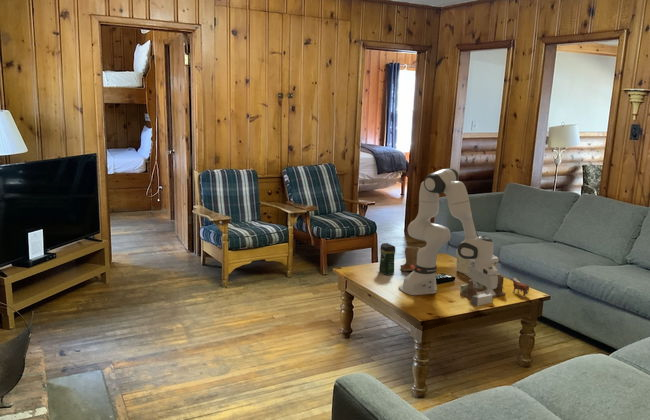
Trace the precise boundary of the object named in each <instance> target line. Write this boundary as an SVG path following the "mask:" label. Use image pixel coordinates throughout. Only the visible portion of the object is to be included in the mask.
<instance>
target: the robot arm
mask: <svg viewBox="0 0 650 420" xmlns="http://www.w3.org/2000/svg"><path fill="white" fill-rule="evenodd" d="M442 194H445V196H446V199H447V205H448V210H449V213H450V214H451V216H452V217H453V218H455V219H458V221H460V222H461V224H462V227H463V232H464V240H463V241H461V242H460V243H459V245H458V246H457V248H456V250H457V251H458V254H459V256H460V257H462V258H464V259H475V262H471V263H470V266H469V270H468V276H467V277H468V278H469V279H470V280H471V279H472V281H473V284H474V286H473V287H474V288H478V285H477V282H478V283H480V284H482V285H484V286H486V288H487V290H486V291H485V294H487V295H488V294H489V291H490V290H491V289H495V288H497V284H498V276H497V274H499V270H498V268H497V269H496V268H495V267H494V265H493V264H492V255H494V241H493V240H492V238H491V237H489V236H485V235H479V234H478V232H477V229H476V224H475V221H474V217H473V214H472V209H471V202H470V198H469V193H468V190H467V187H466V185H465V183H463V181H460V174H459V172H458V171H457V170H456V169H455V168H452V167H446V168H442V169H438V170H436V171H435V172H430V173H429V174H427V176H425V178H424V180H423V181H422V182H421V183H420V187H419V192H418V211H417V214H416V217H415V219H413V220H412V221H410V223H409V224H408V225H407V234H408V235H409V237H411V238H413V239H414V240H418V241H422V242H426V244H425V246H423V247H420V248H421V249H419V251H418V252H417V263H416V265H415V266H413V265H411V267H410V268H412V269H414V271H412V272H410V273H409V274H408V275H407V276H405V278H404V279H403V282H402V285H399V286H398V289H399V290H400V291H401V292H402V293H405V294H408V295H411V296H419V295H420V296H422V295H430V294H432V295H433V294H436V293H437V290H438V287H437V280H436V279H437V277H436V276H437V275H436V273H437V268H438V267H437V258H438V253H439V250H440V249H441V247H442V246H444V245H446V244H447V243H448V242H449V241H450V239H451V236H452V234H451V231H450V229H449V227H447V226H444V225H443V224H438V223H435V222H431V219H432V218H434V217H436V216H438V214H439V212H440V195H442Z"/></svg>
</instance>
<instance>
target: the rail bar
mask: <svg viewBox="0 0 650 420" xmlns="http://www.w3.org/2000/svg"><path fill="white" fill-rule="evenodd" d="M492 303H494V298H493V294H490V293H489V294H488V295H487V294H480V295H475V296H472V300H471V305H473V306H475V307H479V306H483V305H488V304H492Z"/></svg>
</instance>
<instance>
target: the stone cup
mask: <svg viewBox="0 0 650 420" xmlns="http://www.w3.org/2000/svg"><path fill="white" fill-rule="evenodd" d="M421 248H422V247H418V246H406V247H405V250H404V256H405V263H404V264H401V265H400V270H401V271H403V272H408V271H409V272H410V271H412V272H413V271H414V269H412V268H410V267H411V265H413V266H415V265H416V263H417V252H418V251H419V249H421Z"/></svg>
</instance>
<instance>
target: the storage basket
mask: <svg viewBox="0 0 650 420" xmlns="http://www.w3.org/2000/svg"><path fill="white" fill-rule="evenodd" d="M455 253H456V254H455V256H456V262H455V263H456V271H458V272H459V273H461V274H462V275H465V276H466V277H468V270H469V266H470V263H471V262H475V259H464V258H462V257H460V256H459V254H458V251H457V249H456V250H455ZM498 263H499V257H498V256H496V255H494V254H493V255H492V264H493V265H494V267H495V268H496V269H497V270H498Z"/></svg>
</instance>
